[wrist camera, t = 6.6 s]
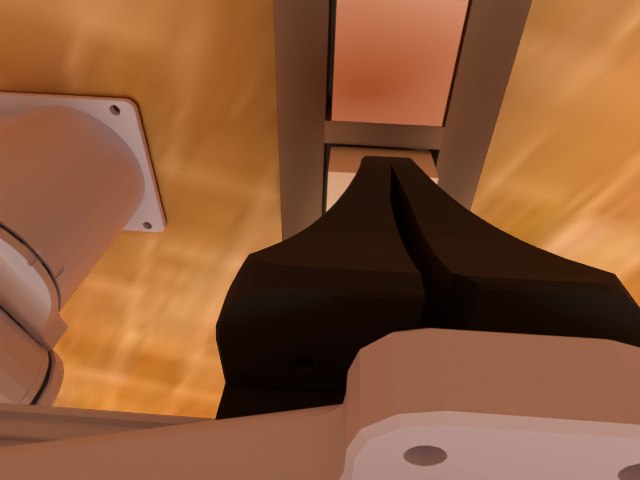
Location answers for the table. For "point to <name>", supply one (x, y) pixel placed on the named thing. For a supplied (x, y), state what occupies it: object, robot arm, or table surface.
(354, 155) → the key ivory
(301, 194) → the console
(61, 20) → the table surface
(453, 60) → the key terracotta
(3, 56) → the table surface
